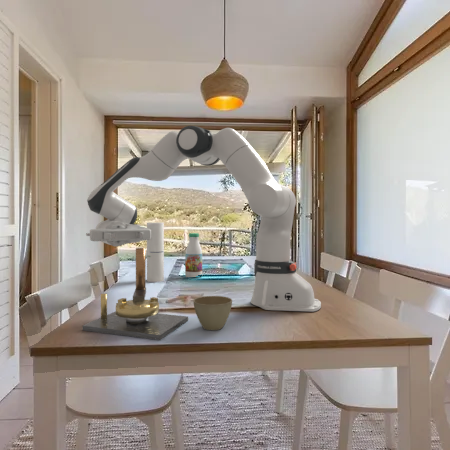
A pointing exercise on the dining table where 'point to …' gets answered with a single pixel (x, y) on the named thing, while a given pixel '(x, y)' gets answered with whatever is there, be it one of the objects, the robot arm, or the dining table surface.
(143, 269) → the crank handle
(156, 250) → the cylindrical container
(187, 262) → the milk bottle
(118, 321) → the flange base
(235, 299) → the dining table surface
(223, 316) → the flower pot
